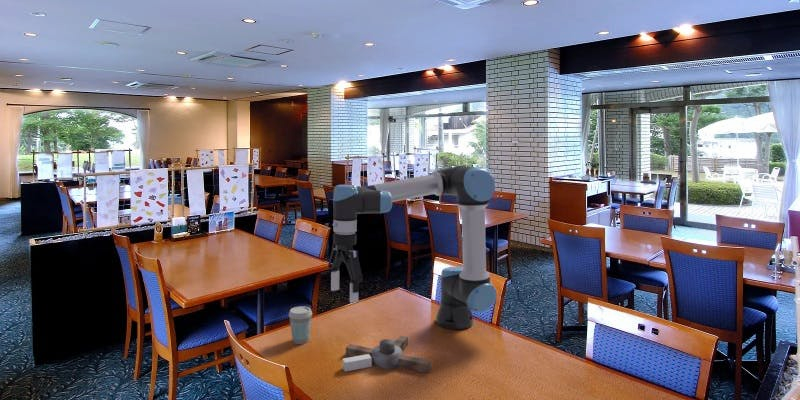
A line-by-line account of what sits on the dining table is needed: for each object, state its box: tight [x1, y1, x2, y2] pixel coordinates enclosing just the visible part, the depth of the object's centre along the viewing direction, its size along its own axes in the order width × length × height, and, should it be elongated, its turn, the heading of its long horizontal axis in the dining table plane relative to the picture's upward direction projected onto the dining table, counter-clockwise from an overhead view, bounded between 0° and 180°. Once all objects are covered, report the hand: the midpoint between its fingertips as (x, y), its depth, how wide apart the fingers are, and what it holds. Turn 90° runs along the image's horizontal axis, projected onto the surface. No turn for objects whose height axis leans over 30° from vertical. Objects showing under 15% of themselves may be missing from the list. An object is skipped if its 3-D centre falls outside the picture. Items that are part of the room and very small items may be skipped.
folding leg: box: [342, 354, 373, 372], centre depth 147 cm, size 9×3×3 cm, turn 112°
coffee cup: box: [288, 305, 313, 345], centre depth 166 cm, size 8×8×12 cm
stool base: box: [345, 335, 432, 374], centre depth 151 cm, size 23×23×7 cm
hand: (344, 295), depth 149 cm, fingers open, 13 cm apart
